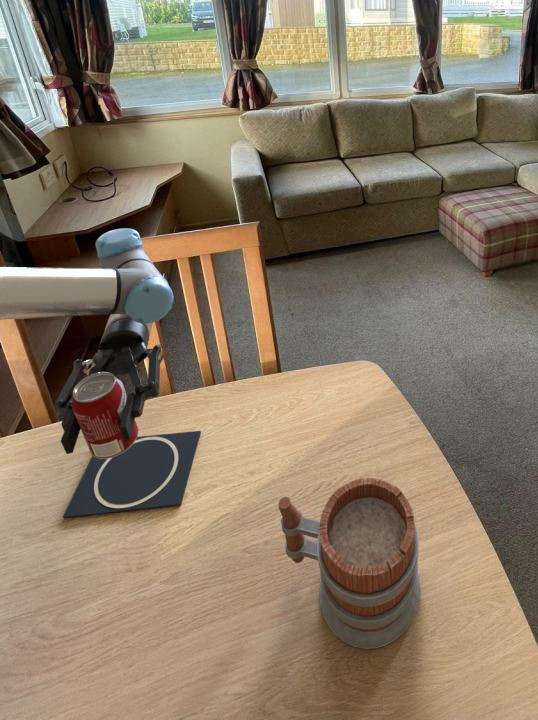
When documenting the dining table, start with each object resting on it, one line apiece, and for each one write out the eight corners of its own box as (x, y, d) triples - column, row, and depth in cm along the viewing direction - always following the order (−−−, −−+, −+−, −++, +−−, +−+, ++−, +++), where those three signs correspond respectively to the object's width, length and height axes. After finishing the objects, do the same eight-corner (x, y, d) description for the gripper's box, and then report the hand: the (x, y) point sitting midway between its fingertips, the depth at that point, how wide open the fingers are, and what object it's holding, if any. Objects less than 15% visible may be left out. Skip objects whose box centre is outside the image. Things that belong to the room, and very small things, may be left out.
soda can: (126, 462, 72) (104, 404, 67) (81, 461, 72) (56, 404, 67) (147, 424, 78) (129, 368, 73) (106, 423, 78) (85, 368, 73)
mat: (63, 518, 76) (62, 516, 76) (100, 441, 89) (99, 439, 89) (180, 505, 78) (180, 503, 78) (200, 432, 90) (200, 430, 90)
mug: (408, 667, 59) (409, 601, 53) (266, 619, 64) (251, 553, 57) (428, 548, 72) (431, 483, 65) (308, 515, 76) (300, 451, 70)
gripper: (188, 340, 92) (176, 441, 72) (73, 361, 87) (25, 476, 67) (180, 308, 89) (165, 405, 69) (60, 328, 84) (6, 439, 64)
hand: (96, 440), depth 68 cm, fingers closed on soda can, 7 cm apart
